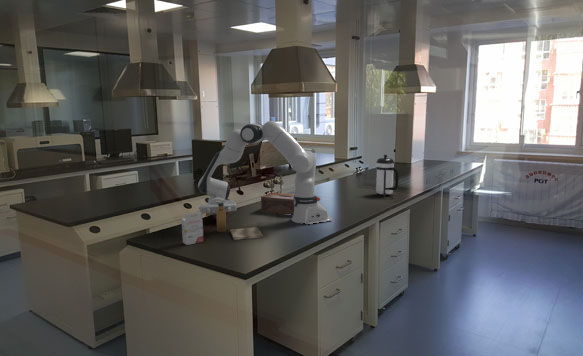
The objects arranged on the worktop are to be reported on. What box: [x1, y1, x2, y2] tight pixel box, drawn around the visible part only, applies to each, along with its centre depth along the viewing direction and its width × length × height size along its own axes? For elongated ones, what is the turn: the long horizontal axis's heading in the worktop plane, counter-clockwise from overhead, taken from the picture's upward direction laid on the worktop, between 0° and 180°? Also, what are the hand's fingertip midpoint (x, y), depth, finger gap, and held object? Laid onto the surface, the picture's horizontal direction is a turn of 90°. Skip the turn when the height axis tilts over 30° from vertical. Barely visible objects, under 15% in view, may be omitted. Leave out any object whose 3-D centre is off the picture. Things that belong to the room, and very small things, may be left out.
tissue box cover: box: [260, 192, 295, 216], centre depth 247 cm, size 26×14×10 cm, turn 66°
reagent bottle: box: [215, 203, 227, 233], centre depth 206 cm, size 5×5×15 cm
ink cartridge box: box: [181, 211, 204, 246], centre depth 188 cm, size 9×5×15 cm, turn 126°
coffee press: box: [374, 154, 399, 196], centre depth 294 cm, size 17×16×30 cm
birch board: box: [230, 226, 263, 241], centre depth 201 cm, size 14×14×1 cm
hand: (219, 211), depth 216 cm, fingers open, 8 cm apart
